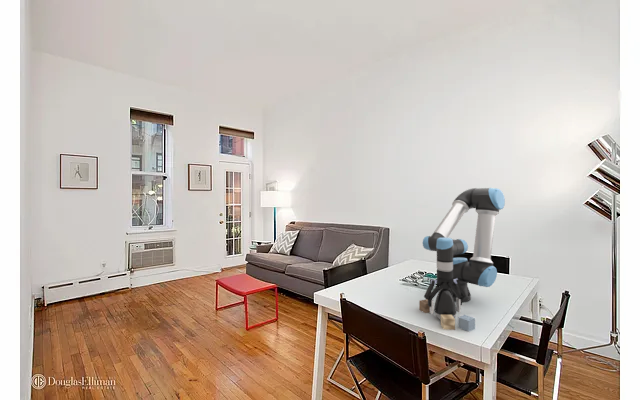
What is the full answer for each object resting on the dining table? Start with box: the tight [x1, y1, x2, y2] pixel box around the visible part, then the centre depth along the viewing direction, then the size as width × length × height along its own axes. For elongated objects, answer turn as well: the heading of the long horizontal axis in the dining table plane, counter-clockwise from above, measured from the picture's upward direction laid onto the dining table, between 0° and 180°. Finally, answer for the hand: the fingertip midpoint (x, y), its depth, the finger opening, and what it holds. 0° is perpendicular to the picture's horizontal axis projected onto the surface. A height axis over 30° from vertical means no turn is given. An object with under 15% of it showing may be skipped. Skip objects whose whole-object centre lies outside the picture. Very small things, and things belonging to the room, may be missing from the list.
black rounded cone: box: [433, 289, 457, 321], centre depth 155 cm, size 10×10×15 cm
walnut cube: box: [418, 299, 430, 314], centre depth 166 cm, size 5×5×5 cm
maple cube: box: [440, 314, 456, 331], centre depth 146 cm, size 5×5×5 cm
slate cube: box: [457, 314, 476, 333], centre depth 145 cm, size 5×5×5 cm
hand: (445, 312), depth 156 cm, fingers open, 13 cm apart
